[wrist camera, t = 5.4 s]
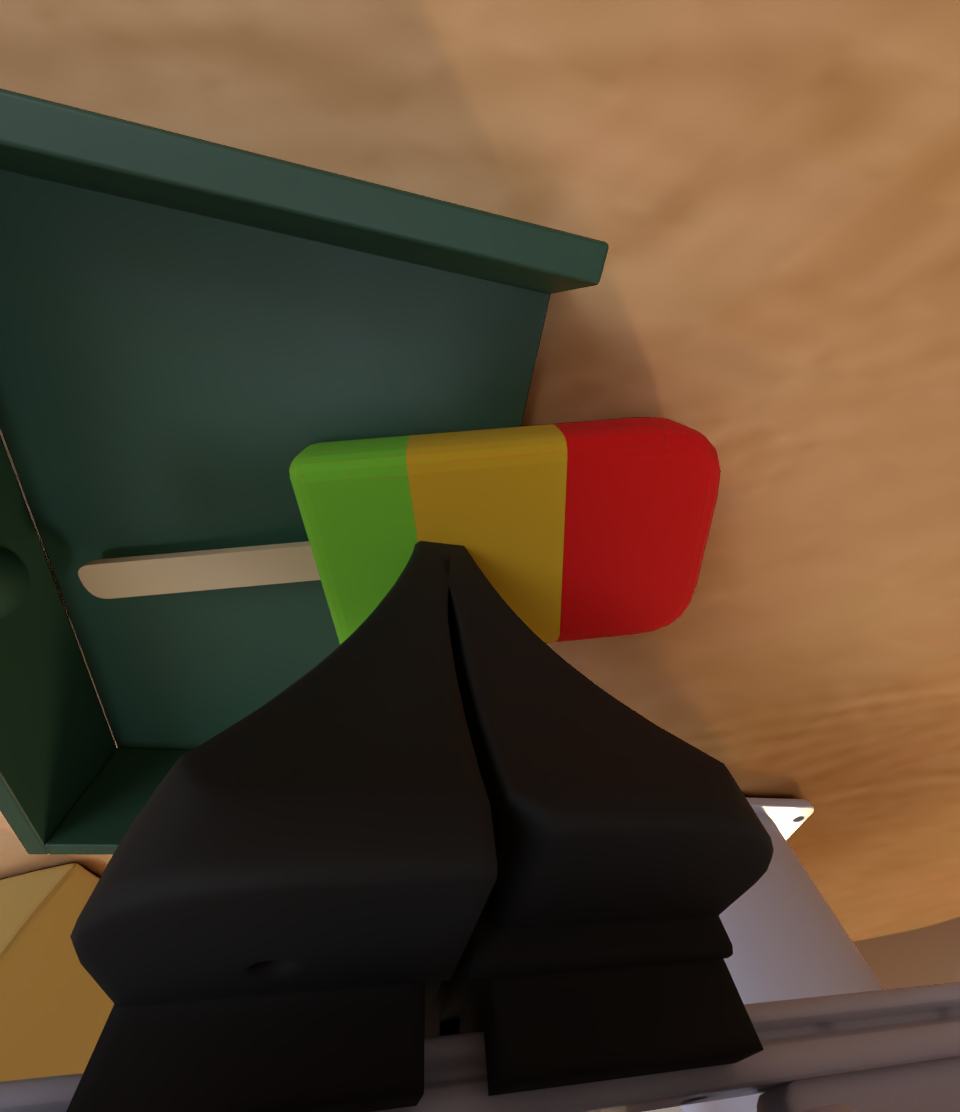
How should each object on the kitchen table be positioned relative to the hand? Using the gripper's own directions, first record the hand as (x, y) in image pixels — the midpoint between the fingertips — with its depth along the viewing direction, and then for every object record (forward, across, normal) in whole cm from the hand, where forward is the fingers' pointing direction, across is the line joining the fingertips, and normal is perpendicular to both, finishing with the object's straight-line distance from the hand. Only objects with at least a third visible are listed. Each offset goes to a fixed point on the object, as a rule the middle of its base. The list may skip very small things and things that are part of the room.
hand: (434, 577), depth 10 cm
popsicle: (+2, +1, 0) cm, 2 cm away
